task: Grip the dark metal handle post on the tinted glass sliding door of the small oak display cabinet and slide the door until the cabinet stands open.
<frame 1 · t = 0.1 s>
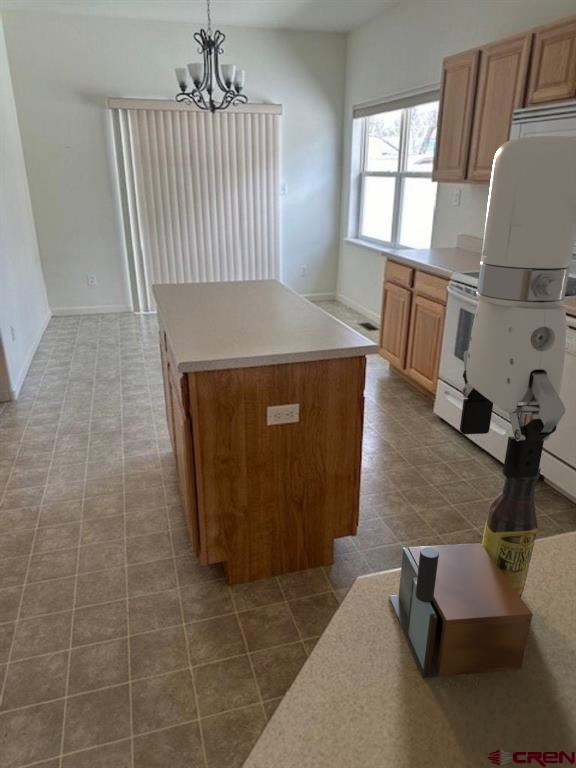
hand: (495, 452, 55), 27 cm above the counter, tool pointing down, fingers open, 9 cm apart
sauce bottle: (498, 593, 74), on the counter
cabinet: (457, 629, 67), on the counter
glass door: (423, 604, 61), point 7 cm above the counter, slide at 0.0 cm
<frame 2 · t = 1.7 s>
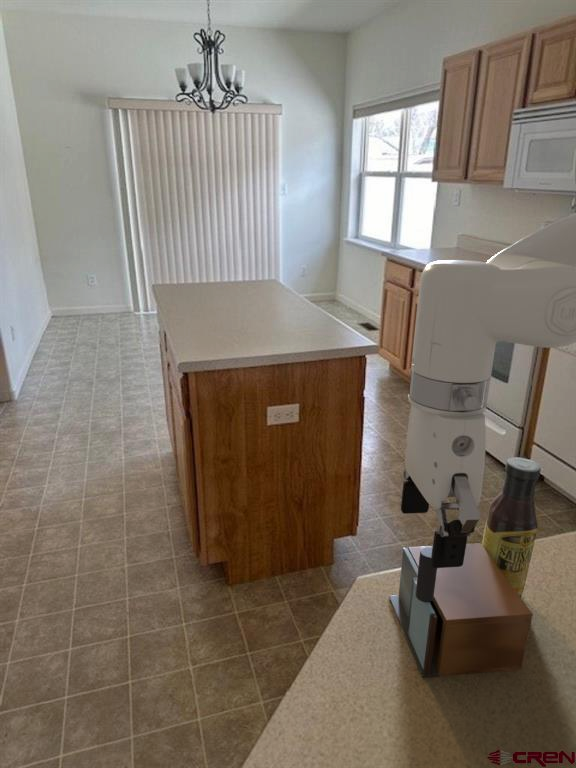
hand: (429, 536, 58), 17 cm above the counter, tool pointing down, fingers open, 9 cm apart
nothing on the counter moved.
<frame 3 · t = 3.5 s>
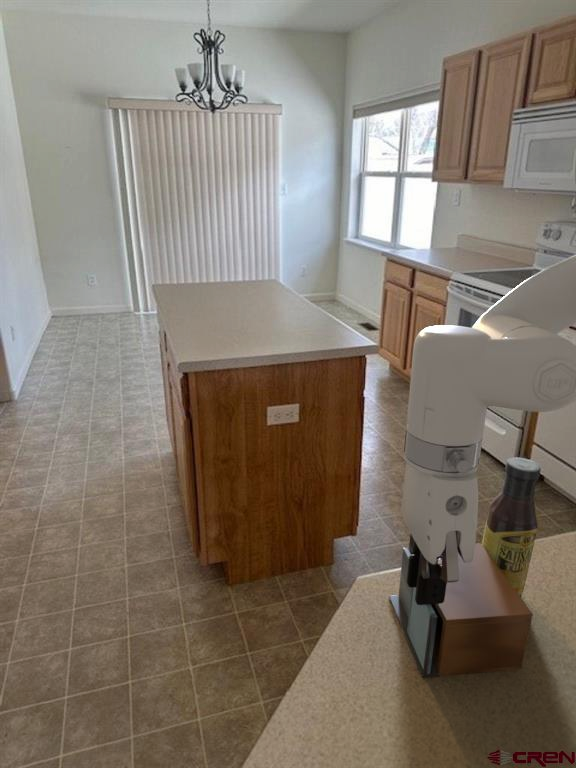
hand: (424, 592, 61), 9 cm above the counter, tool pointing down, fingers closed on glass door, 2 cm apart
glass door: (423, 604, 61), point 7 cm above the counter, slide at 0.0 cm, touching gripper
everything else where it was.
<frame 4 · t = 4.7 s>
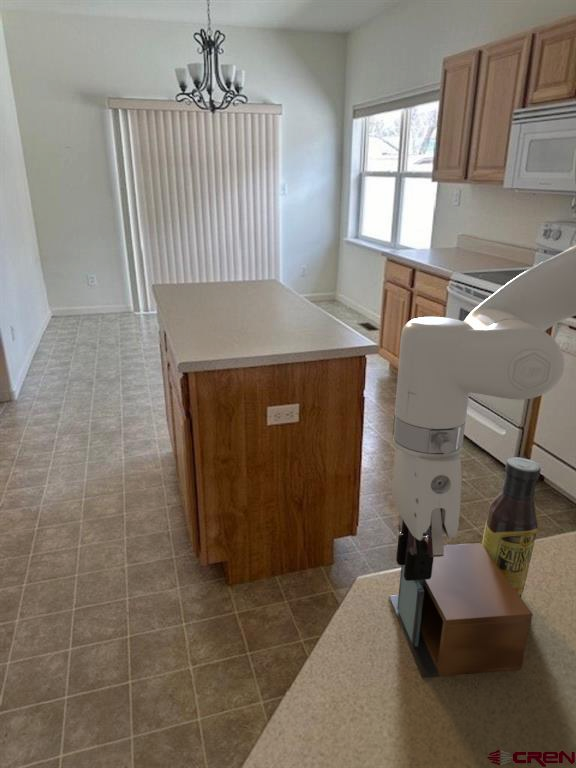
hand: (413, 569, 64), 9 cm above the counter, tool pointing down, fingers closed on glass door, 2 cm apart
glass door: (412, 580, 65), point 7 cm above the counter, slide at 4.0 cm, touching gripper
everything else where it was.
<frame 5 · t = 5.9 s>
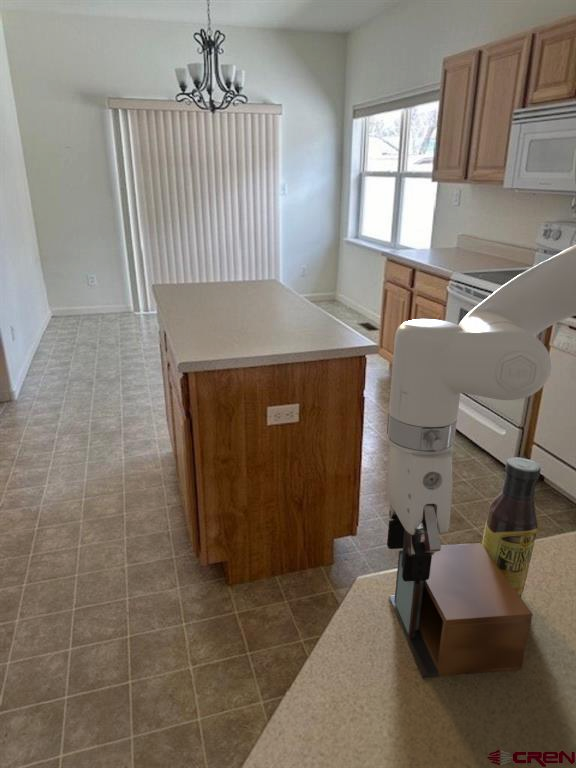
hand: (407, 561, 66), 9 cm above the counter, tool pointing down, fingers open, 5 cm apart
glass door: (408, 573, 66), point 7 cm above the counter, slide at 5.3 cm
everything else where it was.
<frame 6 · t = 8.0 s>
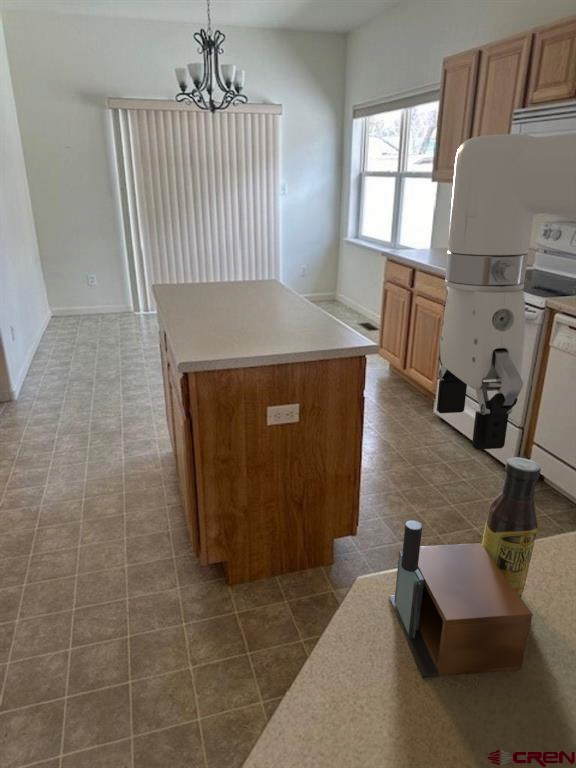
hand: (467, 428, 59), 28 cm above the counter, tool pointing down, fingers open, 9 cm apart
nothing on the counter moved.
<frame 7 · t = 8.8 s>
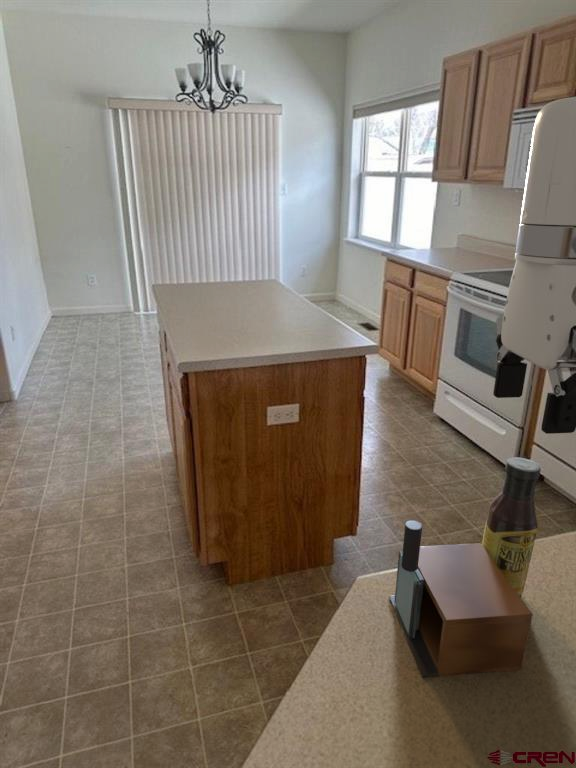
hand: (530, 412, 56), 30 cm above the counter, tool pointing down, fingers open, 9 cm apart
nothing on the counter moved.
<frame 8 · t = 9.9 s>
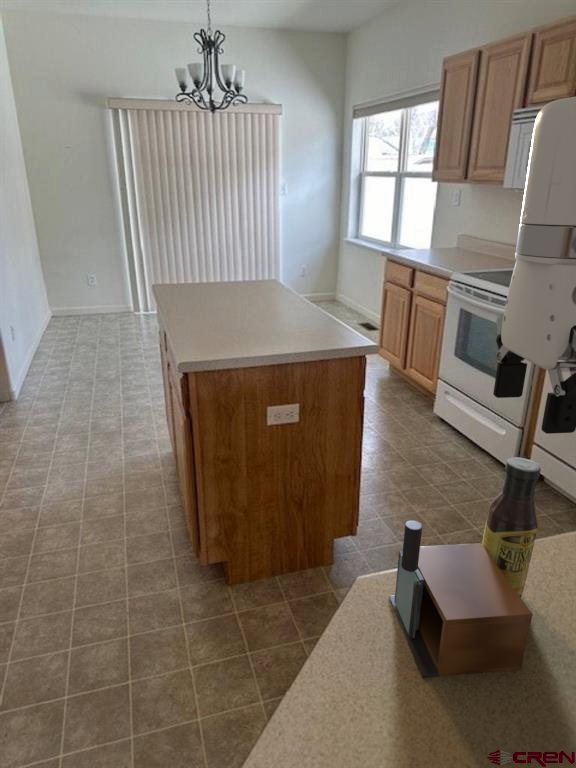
hand: (530, 412, 56), 30 cm above the counter, tool pointing down, fingers open, 9 cm apart
nothing on the counter moved.
at the end: glass door slide at 5.3 cm; sauce bottle moved 0.2 cm from its start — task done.
